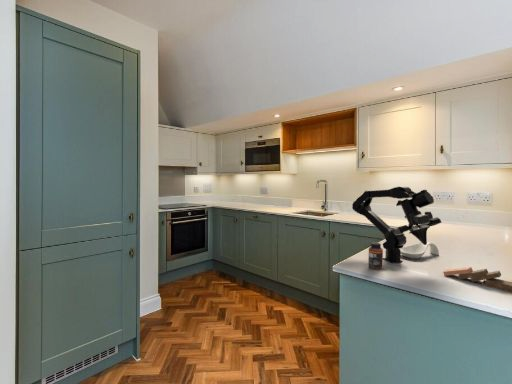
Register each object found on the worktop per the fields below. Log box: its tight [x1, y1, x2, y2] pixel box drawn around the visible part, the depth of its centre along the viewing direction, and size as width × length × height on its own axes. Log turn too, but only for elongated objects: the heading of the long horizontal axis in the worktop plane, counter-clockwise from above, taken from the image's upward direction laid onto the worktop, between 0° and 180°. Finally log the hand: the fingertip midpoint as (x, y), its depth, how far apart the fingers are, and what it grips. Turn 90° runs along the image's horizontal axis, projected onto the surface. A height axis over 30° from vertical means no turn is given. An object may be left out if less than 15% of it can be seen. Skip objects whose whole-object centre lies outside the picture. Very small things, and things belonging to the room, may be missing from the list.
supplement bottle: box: [367, 241, 384, 271], centre depth 127 cm, size 6×6×11 cm
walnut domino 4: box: [486, 278, 512, 290], centre depth 105 cm, size 2×5×9 cm
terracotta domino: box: [442, 266, 474, 277], centre depth 116 cm, size 2×5×9 cm
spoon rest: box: [400, 241, 440, 260], centre depth 148 cm, size 24×12×7 cm, turn 113°
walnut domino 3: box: [481, 280, 512, 293], centre depth 106 cm, size 2×5×9 cm
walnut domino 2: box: [470, 270, 502, 282], centre depth 109 cm, size 2×5×9 cm
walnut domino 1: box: [457, 268, 489, 280], centre depth 112 cm, size 2×5×9 cm
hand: (425, 244), depth 125 cm, fingers closed
